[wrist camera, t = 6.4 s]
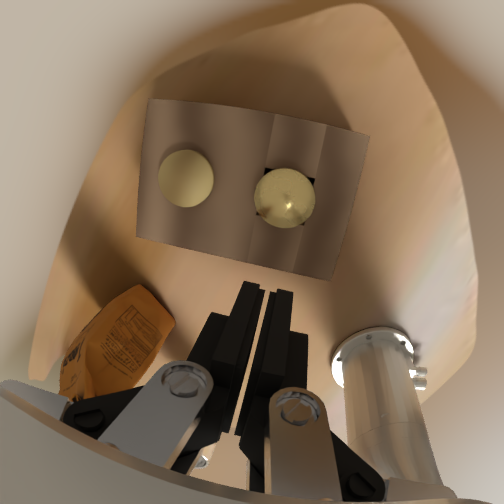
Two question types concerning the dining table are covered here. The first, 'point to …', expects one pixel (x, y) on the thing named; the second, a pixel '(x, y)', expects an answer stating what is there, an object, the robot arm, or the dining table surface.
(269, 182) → the brass peg
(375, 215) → the dining table surface
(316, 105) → the dining table surface
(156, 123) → the walnut block
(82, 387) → the coffee package
